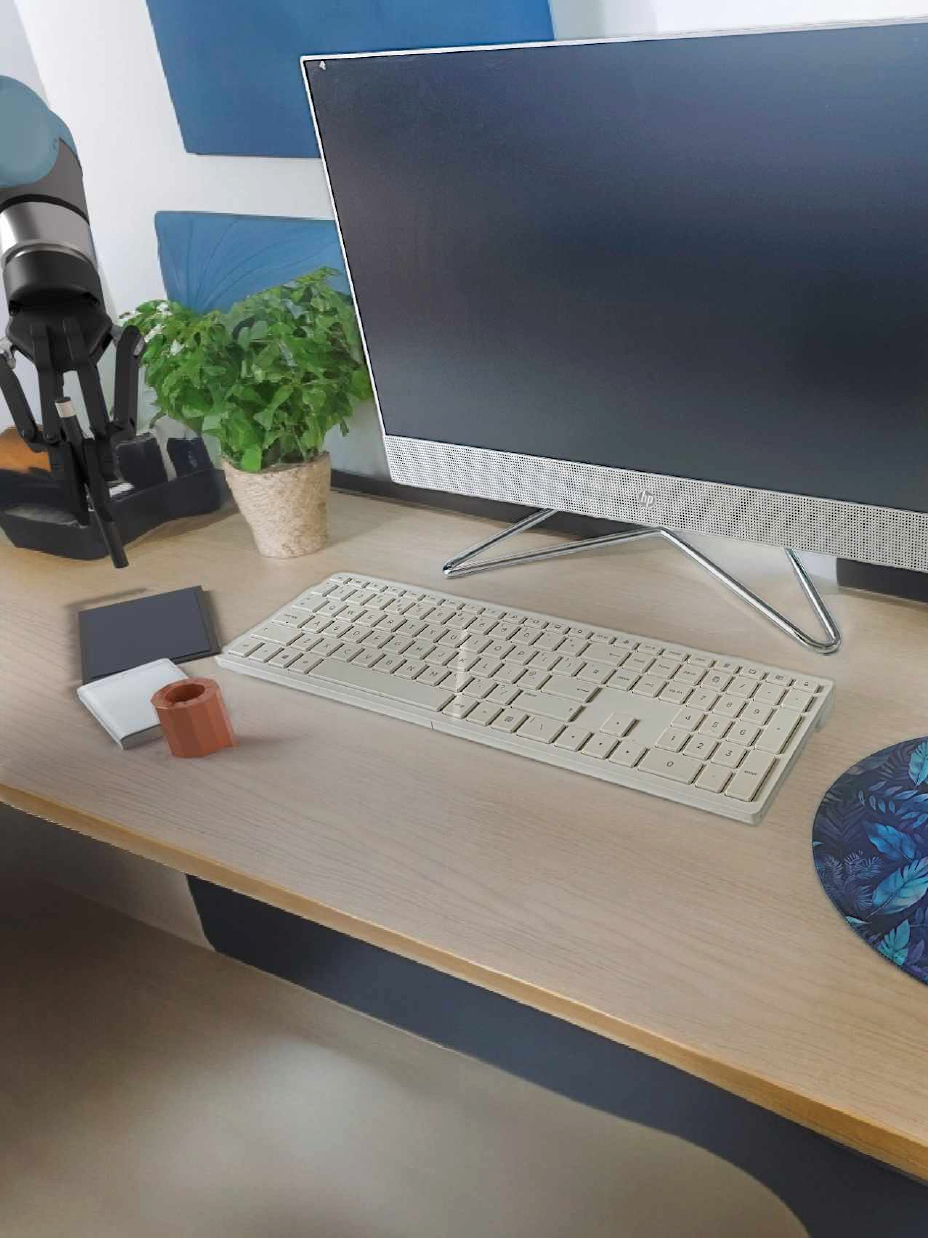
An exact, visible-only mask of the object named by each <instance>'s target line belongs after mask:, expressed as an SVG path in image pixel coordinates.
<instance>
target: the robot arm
mask: <svg viewBox="0 0 928 1238" xmlns="http://www.w3.org/2000/svg"><path fill="white" fill-rule="evenodd" d="M81 164H82V163H81V160H80V158H79V154H78V150H77V146H76V143H75V140H74V137H73V134H72V132H71V130H70V128H69V126H68V125H67V123H66V122H65V121H64V120H63V119H62V118H61V117H60V116H59V115H58V114H56V113H55V112H54V111H52V110H51V109H50V108H49V106H48V105H47V104H46V103H45V101H44V99H42V98H41V96H40V95H39V94H38V93H37V92H36V91H34V89H32V88H31V87H30V86H28V85H27V84H26V83H24V82H22V81H20V80H18V79H16V78H14V77H11V76H7V75H4V74H0V267H1V270H2V281H3V288H4V293H5V300H6V306H7V312H8V322H7V324H6V326H5V329H4V336H3V337H2V338H0V391H1V393H2V395H3V398H4V401H5V404H6V405H7V408H8V410H9V413H10V416H11V418H12V420H13V423H14V426H15V428H16V432H17V433H18V436H19V437H20V439H21V440H22V441H23V442H24V444H25V445H26V446H27V448H28V449H29V450H30V451H31V452H32V453H34V454H41V453H43V452H44V453H47V457H48V464H49V469H50V476H51V478H52V479H53V480H54V482H55V483H56V484H57V486H58V487H59V488H60V489H66V493H67V497H68V505H69V510H70V513H71V514H72V516H73V517H74V519H75V520H76V521H77V522H78V523H79V525H80V526H81V527H85V526H92V520H91V515H90V509H89V503H88V497H87V489H86V487H85V484H84V481H83V478H82V475H81V472H80V470H79V467H78V464H77V461H76V458H75V456H74V453H73V450H72V447H71V445H70V442H69V440H68V437H67V434H66V431H65V429H64V426H63V423H62V420H61V417H60V415H59V413H58V410H57V407H56V404H55V401H54V400H55V399H56V398H59V397H65V395H64V394H65V393H64V386H65V375H64V374H67V373H69V372H76V375H77V379H78V383H79V387H80V392H81V396H82V399H83V403H84V408H85V412H86V415H87V420H88V424H89V426H88V429H89V431H90V432H91V434H92V435H93V437H84V439H83V442H84V448H85V454H86V460H87V466H88V471H89V477H90V483H91V489H92V495H93V500H94V506H95V509H96V511H97V512H98V514H99V515H100V516H101V518H102V519H103V520H104V522H105V523H106V522H112V521H114V522H115V521H116V520H115V514H114V510H113V503H112V497H111V491H110V486H109V482H110V483H111V482H116V481H117V482H118V481H119V479H120V475H121V473H120V468H119V462H118V457H117V452H116V448H117V445H118V444H119V443H122V442H123V441H133V440H134V439H135V438H136V437H137V435H138V434H137V431H138V430H137V429H138V403H139V400H138V399H139V382H140V381H139V379H140V377H139V376H140V364H141V362H142V359H143V357H144V355H145V354H146V352H147V349H148V345H147V342H146V340H145V338H144V336H143V335H142V332H141V330H140V328H139V327H138V326H137V325H135V324H129V325H127V326H125V327H123V326H120V325H117V324H115V323H114V321H113V319H112V318H111V316H110V315H109V314H108V313H107V307H106V304H105V298H104V291H103V287H102V281H101V277H100V274H99V263H98V259H97V253H96V248H95V242H94V238H93V232H92V228H91V221H90V215H89V209H88V204H87V198H86V192H85V185H84V179H83V178H84V172H83V166H82V165H81ZM111 343H112V344H113V346H114V348H115V360H114V361H115V362H114V363H115V365H114V382H113V383H114V385H113V409H112V420H111V419H110V416H109V412H108V411H109V410H108V407H107V403H106V399H105V395H104V391H103V387H102V384H101V375H100V372H99V368H98V363H99V362H100V360H101V359H102V358H103V356H104V354H105V352H106V351H107V350H108V348H109V346H110V345H111ZM16 352H18V353H19V354H21V355H22V356H23V357H25V358H26V359H27V360H28V361H29V362H31V363H32V364H33V365H34V366H35V369H36V372H37V373H36V374H37V383H38V384H37V385H38V395H39V402H40V415H41V426H42V430H40V428H39V427H38V424H37V421H36V419H35V416H34V414H33V412H32V409H31V406H30V404H29V401H28V399H27V397H26V394H25V392H24V389H23V386H22V385H21V381H20V380H19V378H18V376H17V374H16V373H15V371H14V369H15V368H16V364H17V359H16V357H15V353H16Z"/></svg>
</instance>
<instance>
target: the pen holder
mask: <svg viewBox="0 0 928 1238" xmlns="http://www.w3.org/2000/svg"><path fill="white" fill-rule="evenodd" d="M189 678H190V679H182V680H179V681H176V682H173V683H170V684H167V685H166V686H164V687H163V688H161V689H160V690H158V691H157V692H155V693H154V695H153V697H152V699H151V701H150V702H151V704H152V707H153V710H154V713H155V716H156V718H157V721H158V724H159V727H160V729H161V732H162V737H163V740H164V743H165V746H166V748H167V751H168V755H171V756H172V757H176V758H179V759H180V758H181V759H194V758H203V757H206V756H208V755H212V754H215V753H217V752H219V751H222V750H223V749H227V748H234V747H236V748H237V746H238V740H237V736H236V734H235V730H234V728H233V723H232V722H231V718H230V714H229V712H228V708H227V706H226V703H225V700H224V696H223V693H222V690H221V687H220V685H219V684H218V683H217V682H216V680H215V679H213V678H207V677H189Z"/></svg>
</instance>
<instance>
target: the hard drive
mask: <svg viewBox="0 0 928 1238" xmlns="http://www.w3.org/2000/svg"><path fill="white" fill-rule="evenodd" d="M190 678H191V677H189V676H188V675H187V674H186V673H184V671H182V670H181V669H180V668H179V667H178V666H177V664H176V665H175V664H174V663H172V662H171V661H170V660H169V659H168V658H165V659H160V660H157V661H154V662H151V663H148V664H145V665H142V666H139V667H136V668H133V669H130V670H127V671H124V672H121V673H118V674H115V675H112V676H109V677H106V678H104V679H101V680H98V681H95V682H92V683H89V684H86V685H84V686H83V685H81V686H79V687H78V688H77V689H76V693H77V695H78V698H79V699H80V701H81V702H82V703H83V704H84V705H85V707H86V708H87V709H88V710H89V712H90V713H91V714H92V715H93V716H94V717H95V718H96V720H97V721H98V722H99V724H100V725H101V726H102V727H103V728H104V729H105V730H106V731H107V733H108V734H109V735H110V736H111V738H112V739H113V740H114V741H115V742H116V743H117V745H118V746H119V747H120V749H121V750H122V751H124V750H127V749H130V748H132V747H135V746H138V745H141V744H143V743H146V742H149V741H151V740H154V739H157V738H159V737H163V735H162V732H161V729H160V727H159V724H158V721H157V718H156V716H155V713H154V710H153V707H152V704H151V702H150V701H151V699H152V697H153V695H154V693H155V692H157V691H158V690H160V689H161V688H163V687H164V686H166V685H167V684H170V683H173V682H176V681H179V680H182V679H190Z"/></svg>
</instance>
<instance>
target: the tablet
mask: <svg viewBox="0 0 928 1238" xmlns="http://www.w3.org/2000/svg"><path fill="white" fill-rule="evenodd" d="M77 619H78V620H77V621H78V635H79V651H80V652H79V653H80V668H81V680H82V681H81V683H82V684H81V686H84V685H86V684H89V683H92V682H95V681H98V680H101V679H104V678H106V677H109V676H112V675H115V674H118V673H121V672H124V671H127V670H130V669H133V668H136V667H139V666H142V665H145V664H148V663H151V662H154V661H157V660H160V659H165V658H168V659H169V660H170V661H171V662H172V663H174V664H175V665H176V666H177V665H180V664H184V663H189V662H192V661H196V660H197V661H198V660H201V659H205V658H210V657H214V656H217V655H221V654H222V653H221V649H220V645H219V641H218V638H217V635H216V632H215V628H214V624H213V621H212V617H211V614H210V611H209V607H208V604H207V600H206V597H205V593H204V590H203V587H202V585H201V584H199V585H195V586H190V587H185V588H181V589H176V590H172V591H171V590H170V591H167V592H162V593H157V594H152V595H149V596H144V597H140V598H134V599H130V600H125V601H121V602H116V603H111V604H107V605H103V606H98V607H94V608H89V609H84V610H80V611H79V610H78V612H77Z"/></svg>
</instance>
